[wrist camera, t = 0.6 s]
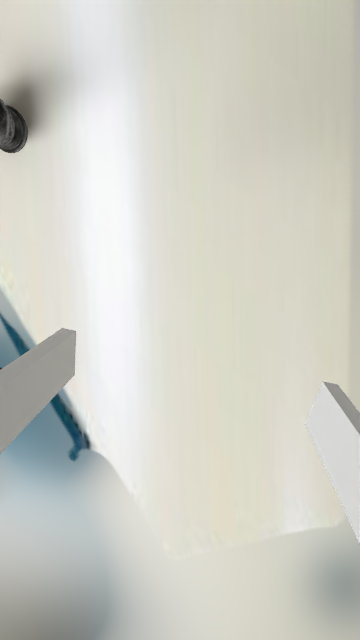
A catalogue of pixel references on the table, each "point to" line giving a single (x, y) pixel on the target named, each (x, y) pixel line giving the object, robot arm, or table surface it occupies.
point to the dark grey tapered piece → (11, 129)
